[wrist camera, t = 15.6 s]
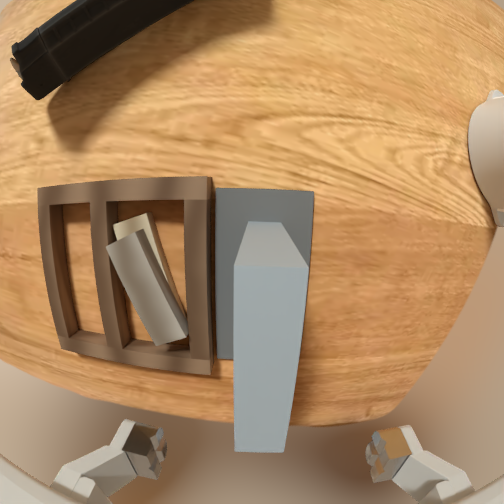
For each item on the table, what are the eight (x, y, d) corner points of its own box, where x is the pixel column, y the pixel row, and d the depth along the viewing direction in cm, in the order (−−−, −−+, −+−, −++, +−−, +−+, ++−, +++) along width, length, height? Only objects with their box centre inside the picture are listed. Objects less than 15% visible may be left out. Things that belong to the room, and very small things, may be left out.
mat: (312, 191, 26) (313, 191, 25) (298, 357, 30) (299, 360, 29) (216, 187, 26) (215, 188, 25) (217, 355, 30) (217, 358, 29)
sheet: (280, 222, 26) (308, 267, 11) (274, 337, 28) (283, 452, 14) (248, 221, 26) (233, 265, 11) (245, 337, 29) (234, 451, 14)
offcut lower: (153, 211, 27) (146, 213, 25) (191, 326, 30) (187, 334, 28) (121, 222, 27) (112, 224, 25) (160, 331, 30) (154, 340, 28)
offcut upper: (143, 228, 25) (134, 231, 23) (190, 327, 28) (186, 337, 26) (115, 242, 26) (105, 246, 24) (161, 336, 28) (156, 346, 26)
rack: (211, 177, 26) (207, 176, 23) (213, 362, 30) (210, 375, 28) (50, 187, 26) (37, 188, 24) (71, 340, 30) (61, 348, 28)
